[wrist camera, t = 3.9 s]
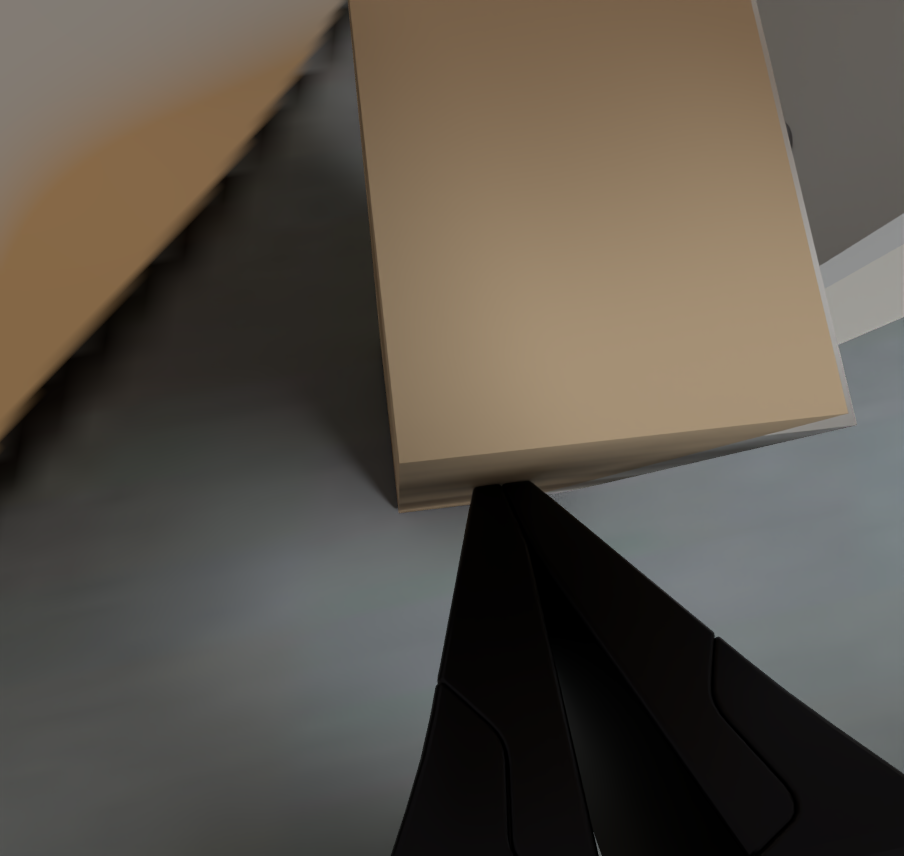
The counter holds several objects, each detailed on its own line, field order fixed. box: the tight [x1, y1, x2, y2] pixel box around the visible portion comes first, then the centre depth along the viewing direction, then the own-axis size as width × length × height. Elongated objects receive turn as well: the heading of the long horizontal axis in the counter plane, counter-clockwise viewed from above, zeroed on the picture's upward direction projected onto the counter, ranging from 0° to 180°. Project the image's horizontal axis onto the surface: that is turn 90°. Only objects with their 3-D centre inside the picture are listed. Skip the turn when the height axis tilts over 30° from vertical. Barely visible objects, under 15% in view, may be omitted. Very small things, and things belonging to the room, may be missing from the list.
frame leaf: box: [756, 0, 904, 345], centre depth 13 cm, size 9×9×10 cm
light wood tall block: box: [348, 0, 857, 513], centre depth 11 cm, size 5×7×12 cm
